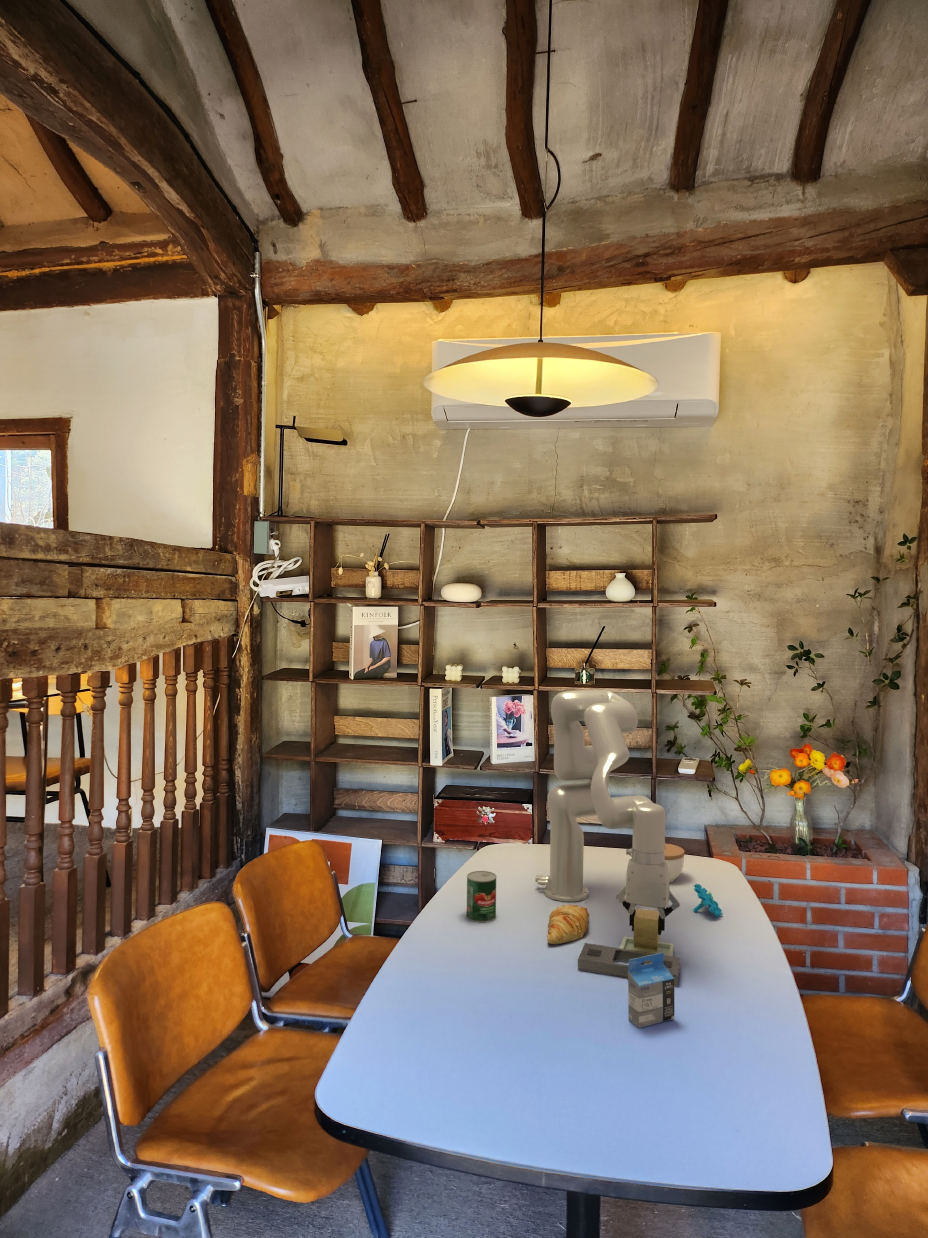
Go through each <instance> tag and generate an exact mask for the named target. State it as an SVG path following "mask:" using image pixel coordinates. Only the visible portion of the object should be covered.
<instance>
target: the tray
mask: <svg viewBox="0 0 928 1238" xmlns="http://www.w3.org/2000/svg"><path fill="white" fill-rule="evenodd" d="M619 948H621V949H628V950H634V951H641V952H647V953H654V954H659V953H664V955H667V956H673V957H674V952H675V944H674V943H671V942H670V943H668V942H663V941H660V942H659V947H658V951H657V952H656V951H649V950H643V949H636V948H634V937H628V936H623V938H622V941H621V944H620V947H619Z"/></svg>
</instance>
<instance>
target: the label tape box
mask: <svg viewBox="0 0 928 1238" xmlns="http://www.w3.org/2000/svg"><path fill="white" fill-rule="evenodd" d="M646 960H648V961H652V963H650V964H645V965H644V964H641V963H642V962H645V961H646ZM663 960H664V953H659V954H654V955H649V956H644V957H639V958H635V959H630V960H629V962H628V965H629V971H628V978H627V983H628V984H627V988H628V991H627V996H628V999H627V1002H628V1003H627V1004H628V1021H630V1022H631V1023H632V1024H633V1025H635V1026H636V1027H637V1028H639V1029H640V1028H644V1027H648V1026H652V1025H656V1024H659V1023H663V1022H668V1021H672V1020H674V1019H675V986H674V978H673V976H672V975H671V973H670V972H669V971H668V969H667V968H666V967H665V965H664V964H663Z"/></svg>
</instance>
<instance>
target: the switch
mask: <svg viewBox="0 0 928 1238" xmlns="http://www.w3.org/2000/svg"><path fill="white" fill-rule="evenodd" d="M649 955H654V953H647V952H641V951H634V950H628V949H621V948H620V947H614V946H608V945H600V944H595V943H590V942H589V943H588V942H585V943H584V945H583V946H582V949H581V951H580V953H579V956H578V959H577V971H583V972H588V973H589V972H590V973H594V974H601V975H606V976H613V977H619V978H624V979H625V978H626V979H628V971H629V964H624V963H619V962H618V963H617V962H616V961H620V962H626V963H629V960H630V959H635V958H639V957H644V956H649ZM650 963H652V961H648V960H646V961H645V962H642V963H641V964H640V965H645V964H650ZM663 964H664V965H665V967H666V968H667V969H668V971H669V972H670V973H671V975H672V976H673V978H674V987H678V985H679V984H678V982H679V976H680V972H681V971H680V969H681V957H679V956H674V955H673V956H667V955H664V960H663Z"/></svg>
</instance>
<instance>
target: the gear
mask: <svg viewBox="0 0 928 1238" xmlns="http://www.w3.org/2000/svg"><path fill="white" fill-rule="evenodd" d="M693 887H694V888H693V889H694V892H695V893H697V894H696V895H697V897H698V899H700V900H701V901H700V902H699V903H698V904H697V906H695V907H694V908H693V909H692V910H693V912H694V913H697V912H698V911H700V910H701V909H702V908H703V907H708V911H709V912H710V913H711V914H713V915H715V917H717V918H718V917H721V916H723V913H722V909H721V908H720V907H719V903H718V902H717V901H716V900H714V896H713V894H712V892H710V891H709V892H708V890H707V889H706V888H705V887H702V885H701V884H700V883H695V884H694V885H693Z"/></svg>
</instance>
